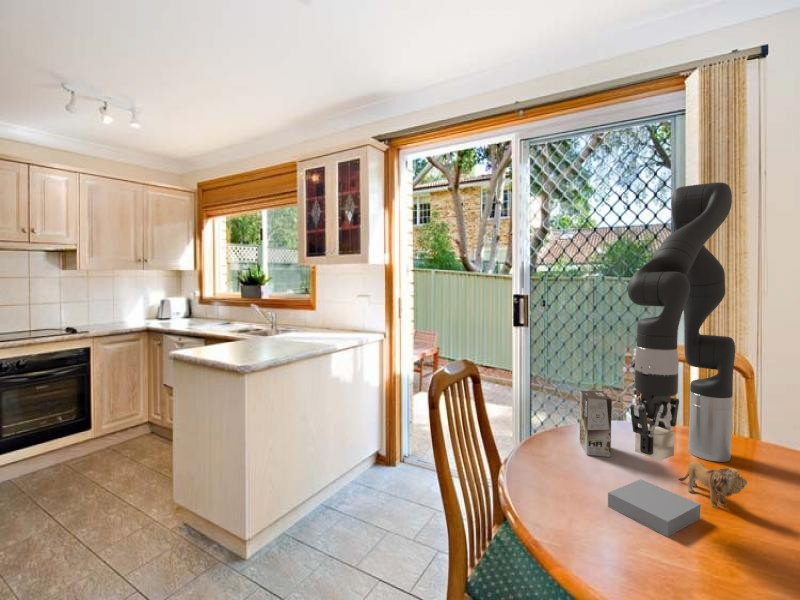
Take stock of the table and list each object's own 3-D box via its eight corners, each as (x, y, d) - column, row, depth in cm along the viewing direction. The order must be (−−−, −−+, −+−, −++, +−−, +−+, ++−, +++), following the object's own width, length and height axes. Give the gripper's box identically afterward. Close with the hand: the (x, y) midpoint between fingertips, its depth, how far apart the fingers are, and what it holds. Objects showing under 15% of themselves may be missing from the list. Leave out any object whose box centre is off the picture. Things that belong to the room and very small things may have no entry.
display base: (640, 491, 92) (640, 479, 92) (700, 518, 81) (700, 504, 81) (607, 506, 86) (608, 492, 86) (667, 537, 76) (667, 521, 75)
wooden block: (648, 446, 87) (649, 423, 86) (673, 455, 82) (674, 431, 82) (635, 451, 84) (635, 428, 84) (660, 460, 80) (660, 435, 80)
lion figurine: (751, 514, 83) (752, 472, 82) (730, 518, 82) (731, 474, 81) (687, 480, 97) (688, 444, 97) (668, 482, 96) (669, 445, 96)
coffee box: (611, 457, 110) (612, 399, 109) (586, 455, 111) (587, 398, 111) (602, 444, 119) (602, 390, 118) (578, 442, 120) (579, 389, 120)
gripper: (656, 362, 89) (654, 438, 90) (617, 369, 82) (615, 451, 83) (694, 368, 83) (692, 450, 83) (655, 377, 76) (653, 465, 76)
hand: (654, 450), depth 83 cm, fingers closed on wooden block, 5 cm apart
